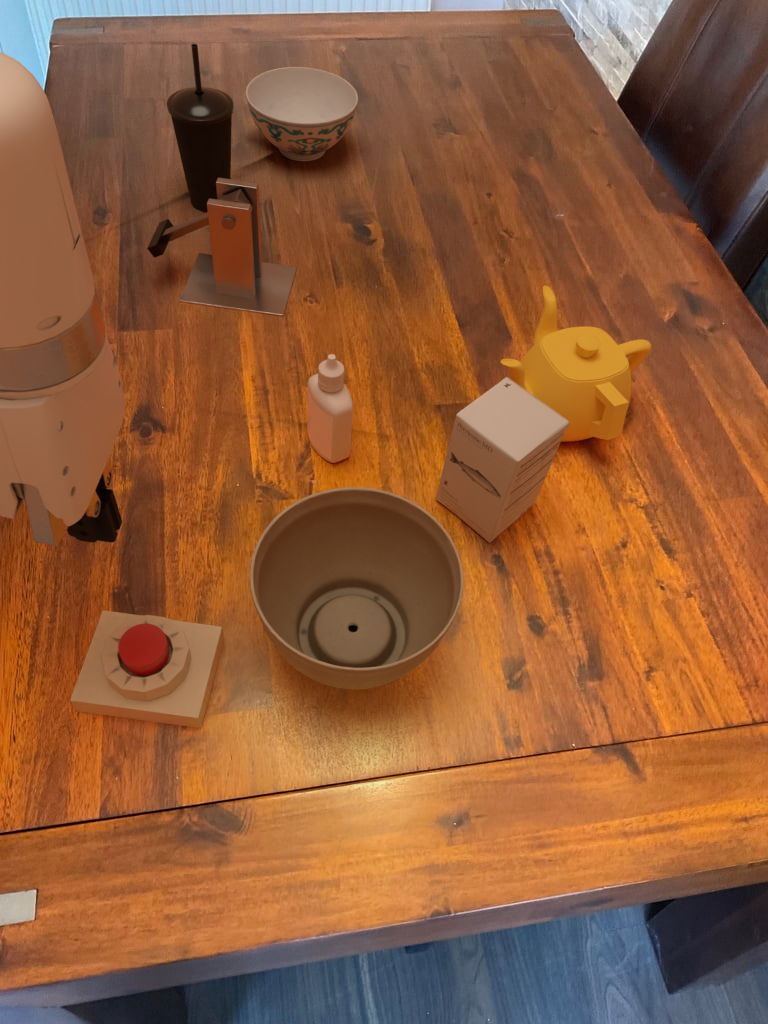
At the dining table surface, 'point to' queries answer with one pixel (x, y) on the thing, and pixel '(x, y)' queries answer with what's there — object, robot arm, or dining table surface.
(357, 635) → the planter bowl
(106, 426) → the robot arm
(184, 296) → the lever stand
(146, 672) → the button
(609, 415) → the teapot
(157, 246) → the lever
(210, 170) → the drinking cup
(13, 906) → the dining table surface
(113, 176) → the dining table surface
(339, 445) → the eye dropper bottle
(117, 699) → the button block
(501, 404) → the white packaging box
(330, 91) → the chinaware
